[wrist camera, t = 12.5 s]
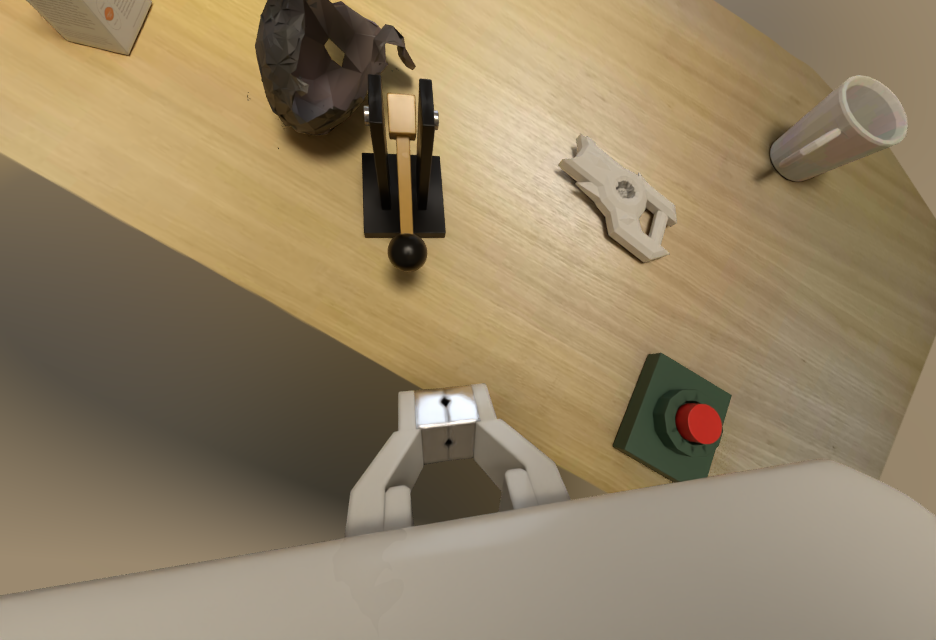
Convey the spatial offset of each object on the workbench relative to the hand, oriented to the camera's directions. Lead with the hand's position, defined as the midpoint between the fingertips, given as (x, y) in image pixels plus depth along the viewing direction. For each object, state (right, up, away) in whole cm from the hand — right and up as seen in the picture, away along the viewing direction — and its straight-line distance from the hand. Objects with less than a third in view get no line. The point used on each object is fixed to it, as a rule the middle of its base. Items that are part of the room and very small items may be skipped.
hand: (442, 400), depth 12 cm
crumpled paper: (-15, +29, +29) cm, 43 cm away
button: (+25, -8, +24) cm, 36 cm away
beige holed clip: (+20, +18, +33) cm, 43 cm away
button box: (+24, -9, +28) cm, 38 cm away
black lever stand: (-7, +17, +28) cm, 33 cm away
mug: (+49, +27, +40) cm, 69 cm away
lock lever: (-5, +15, +19) cm, 25 cm away
